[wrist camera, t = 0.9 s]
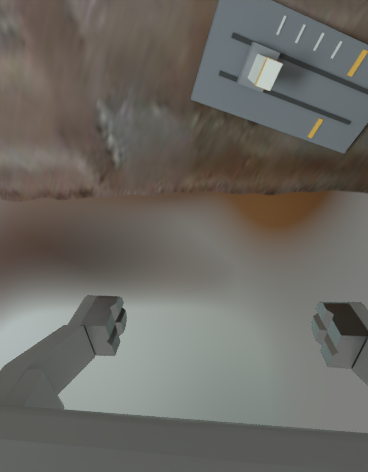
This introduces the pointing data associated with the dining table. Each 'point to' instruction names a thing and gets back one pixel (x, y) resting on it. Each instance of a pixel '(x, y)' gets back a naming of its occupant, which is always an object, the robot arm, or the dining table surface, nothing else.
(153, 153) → the dining table surface
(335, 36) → the console
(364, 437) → the robot arm
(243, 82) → the fader
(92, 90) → the dining table surface
